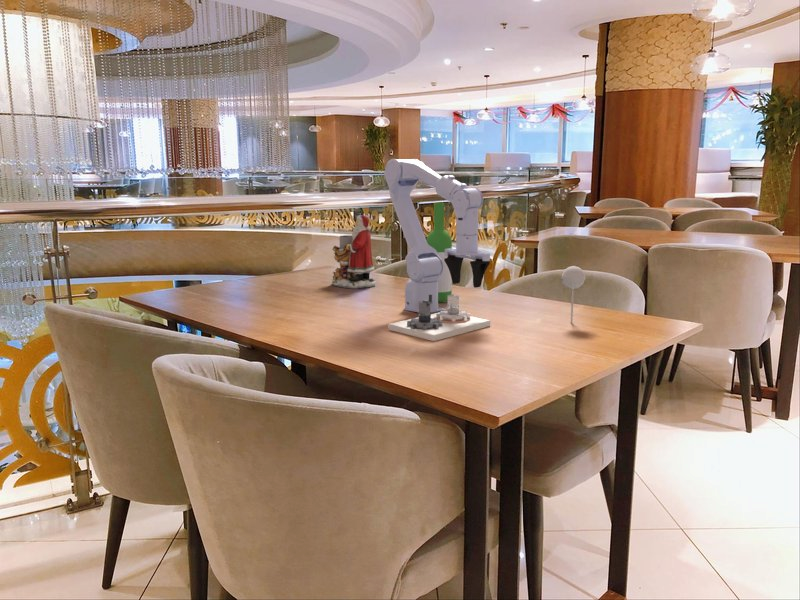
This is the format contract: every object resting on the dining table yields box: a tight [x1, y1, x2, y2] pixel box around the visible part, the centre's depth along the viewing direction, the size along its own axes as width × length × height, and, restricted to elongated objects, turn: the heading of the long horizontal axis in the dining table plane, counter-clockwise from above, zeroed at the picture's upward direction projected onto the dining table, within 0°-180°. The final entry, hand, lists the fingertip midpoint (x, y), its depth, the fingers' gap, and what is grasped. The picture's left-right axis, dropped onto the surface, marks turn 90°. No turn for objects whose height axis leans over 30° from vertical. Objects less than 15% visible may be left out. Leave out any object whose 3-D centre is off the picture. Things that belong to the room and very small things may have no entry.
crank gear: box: [407, 294, 442, 330], centre depth 162 cm, size 9×9×8 cm
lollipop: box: [560, 265, 587, 324], centre depth 169 cm, size 6×6×15 cm
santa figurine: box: [331, 214, 377, 290], centre depth 226 cm, size 17×14×25 cm
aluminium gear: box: [435, 294, 471, 322], centre depth 169 cm, size 9×9×6 cm
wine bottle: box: [426, 202, 453, 304], centre depth 197 cm, size 8×8×30 cm
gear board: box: [388, 311, 491, 342], centre depth 166 cm, size 16×21×2 cm
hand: (466, 285), depth 174 cm, fingers open, 7 cm apart
